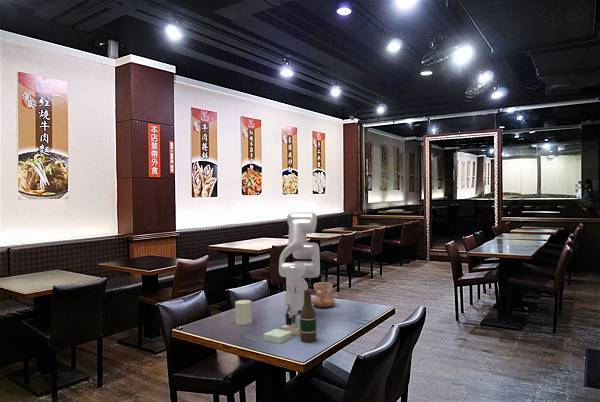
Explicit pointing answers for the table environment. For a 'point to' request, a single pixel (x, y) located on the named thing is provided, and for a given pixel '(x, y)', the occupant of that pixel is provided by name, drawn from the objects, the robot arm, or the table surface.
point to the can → (243, 312)
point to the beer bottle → (307, 319)
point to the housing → (295, 320)
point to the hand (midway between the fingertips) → (294, 322)
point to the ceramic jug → (323, 295)
